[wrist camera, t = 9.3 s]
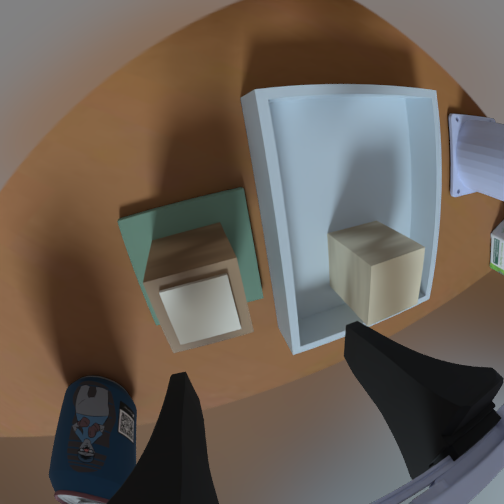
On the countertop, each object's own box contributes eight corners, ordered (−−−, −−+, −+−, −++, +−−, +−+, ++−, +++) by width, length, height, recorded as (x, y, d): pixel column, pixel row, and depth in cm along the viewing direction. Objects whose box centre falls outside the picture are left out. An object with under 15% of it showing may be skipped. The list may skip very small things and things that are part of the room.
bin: (404, 91, 18) (435, 90, 15) (406, 281, 25) (429, 298, 22) (240, 97, 16) (254, 89, 13) (278, 326, 23) (293, 354, 20)
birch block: (376, 220, 21) (425, 247, 16) (375, 270, 23) (417, 303, 18) (327, 233, 20) (371, 266, 15) (329, 285, 22) (367, 326, 17)
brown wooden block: (220, 222, 18) (237, 259, 13) (234, 282, 20) (254, 334, 15) (151, 240, 17) (142, 284, 12) (172, 299, 19) (173, 355, 14)
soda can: (97, 420, 23) (91, 519, 12) (54, 379, 20) (28, 488, 9) (150, 407, 24) (157, 519, 13) (108, 362, 21) (92, 492, 10)
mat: (241, 186, 18) (243, 188, 17) (261, 293, 21) (263, 297, 21) (119, 218, 17) (117, 221, 16) (156, 320, 20) (156, 325, 20)
